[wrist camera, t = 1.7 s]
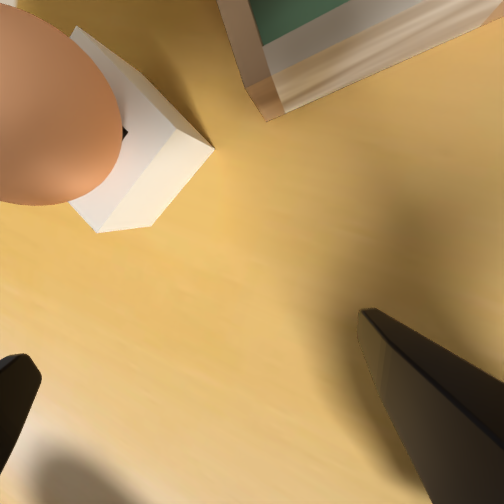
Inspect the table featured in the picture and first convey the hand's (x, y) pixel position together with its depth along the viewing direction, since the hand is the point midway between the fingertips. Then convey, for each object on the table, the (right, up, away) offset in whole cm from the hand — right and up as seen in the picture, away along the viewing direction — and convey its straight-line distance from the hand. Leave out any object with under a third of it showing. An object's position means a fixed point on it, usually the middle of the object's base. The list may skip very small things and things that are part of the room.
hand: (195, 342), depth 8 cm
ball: (-7, +8, +7) cm, 13 cm away
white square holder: (-6, +9, +11) cm, 16 cm away
